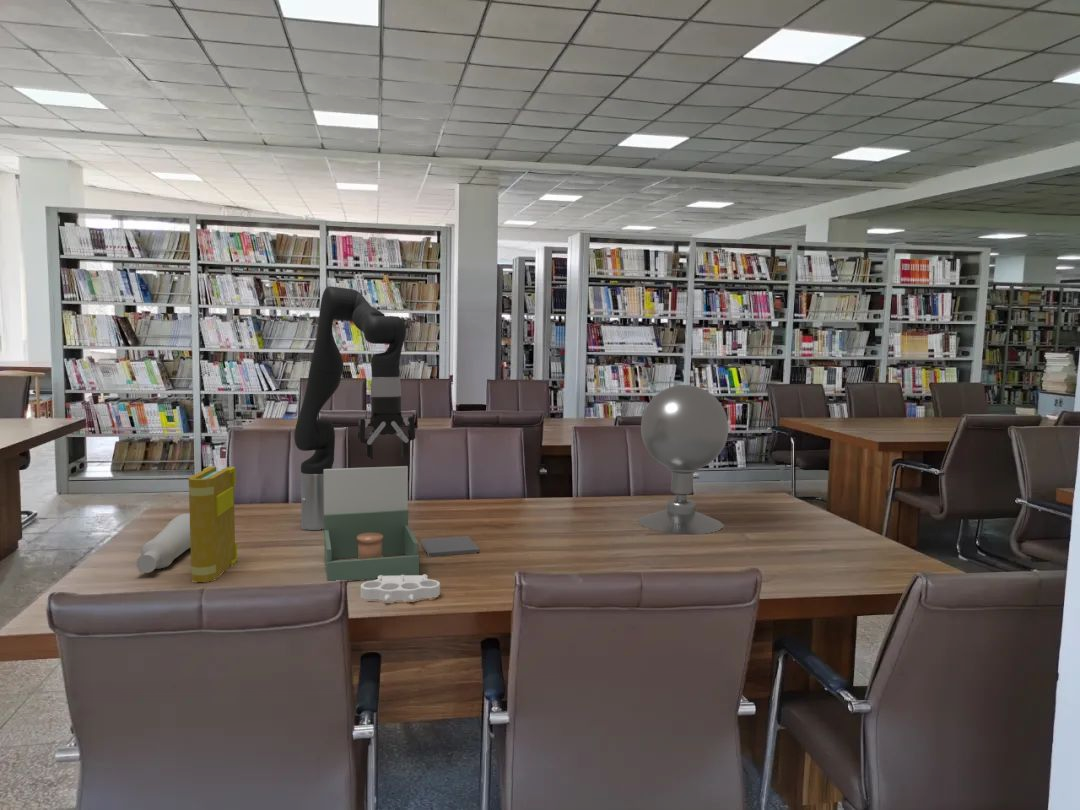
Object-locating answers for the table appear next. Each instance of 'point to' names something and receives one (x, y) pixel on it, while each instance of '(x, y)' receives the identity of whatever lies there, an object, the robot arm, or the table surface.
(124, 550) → the table surface
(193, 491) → the book
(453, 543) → the slate pad
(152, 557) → the bottle
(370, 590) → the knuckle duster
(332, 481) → the box
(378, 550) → the pot
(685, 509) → the desk lamp
